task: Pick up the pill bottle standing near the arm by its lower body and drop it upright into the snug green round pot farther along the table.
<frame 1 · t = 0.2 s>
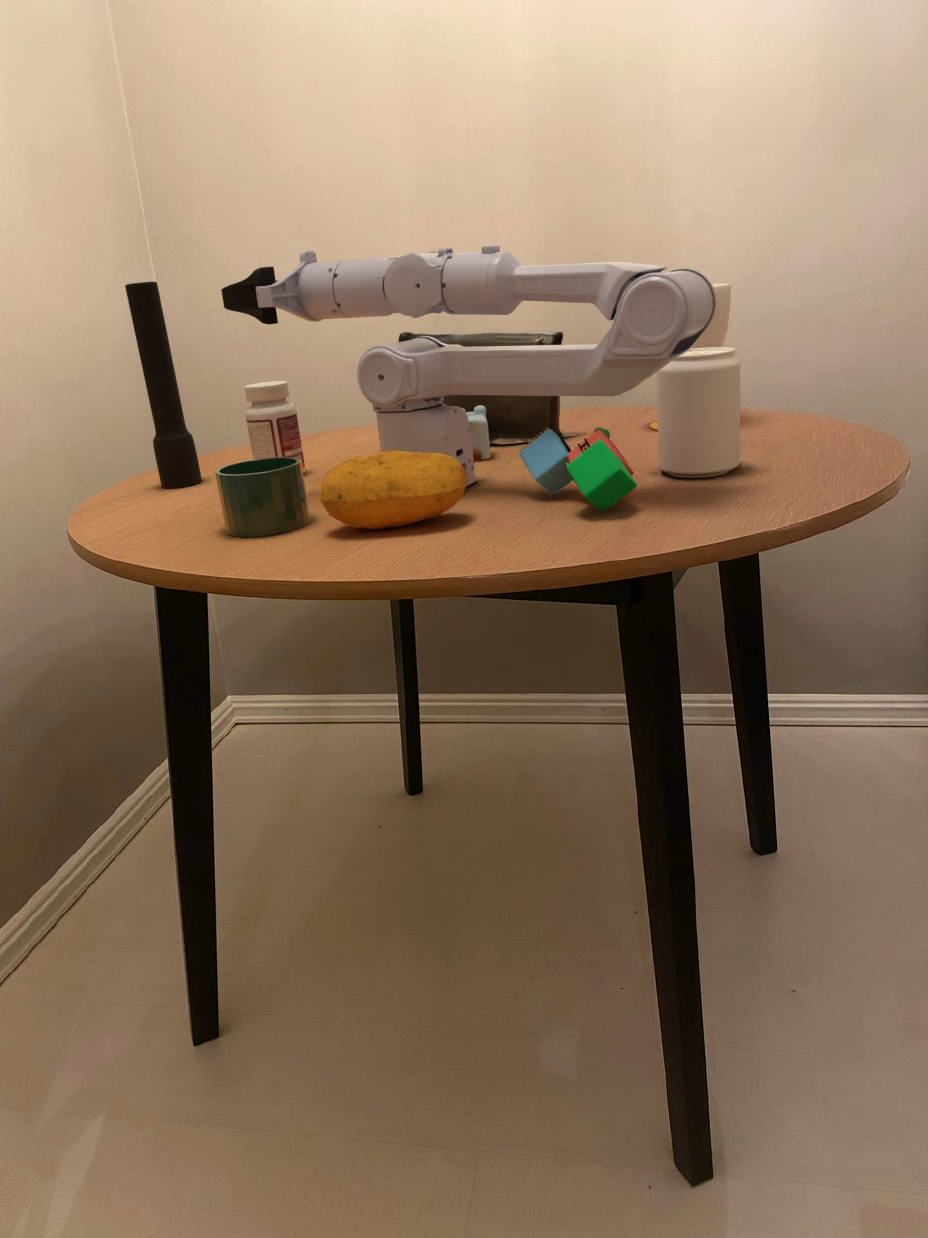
hand: (248, 295, 104), 21 cm above the table, tool horizontal, fingers open, 7 cm apart
figurine: (474, 457, 117), on the table
radio: (486, 441, 128), on the table
pill bottle: (281, 477, 117), on the table
cup: (684, 426, 124), on the table
beverage can: (698, 472, 97), on the table
flashlight: (182, 485, 119), on the table
green round pot: (268, 525, 93), on the table
potato: (398, 527, 88), on the table
building blocks: (577, 504, 90), on the table
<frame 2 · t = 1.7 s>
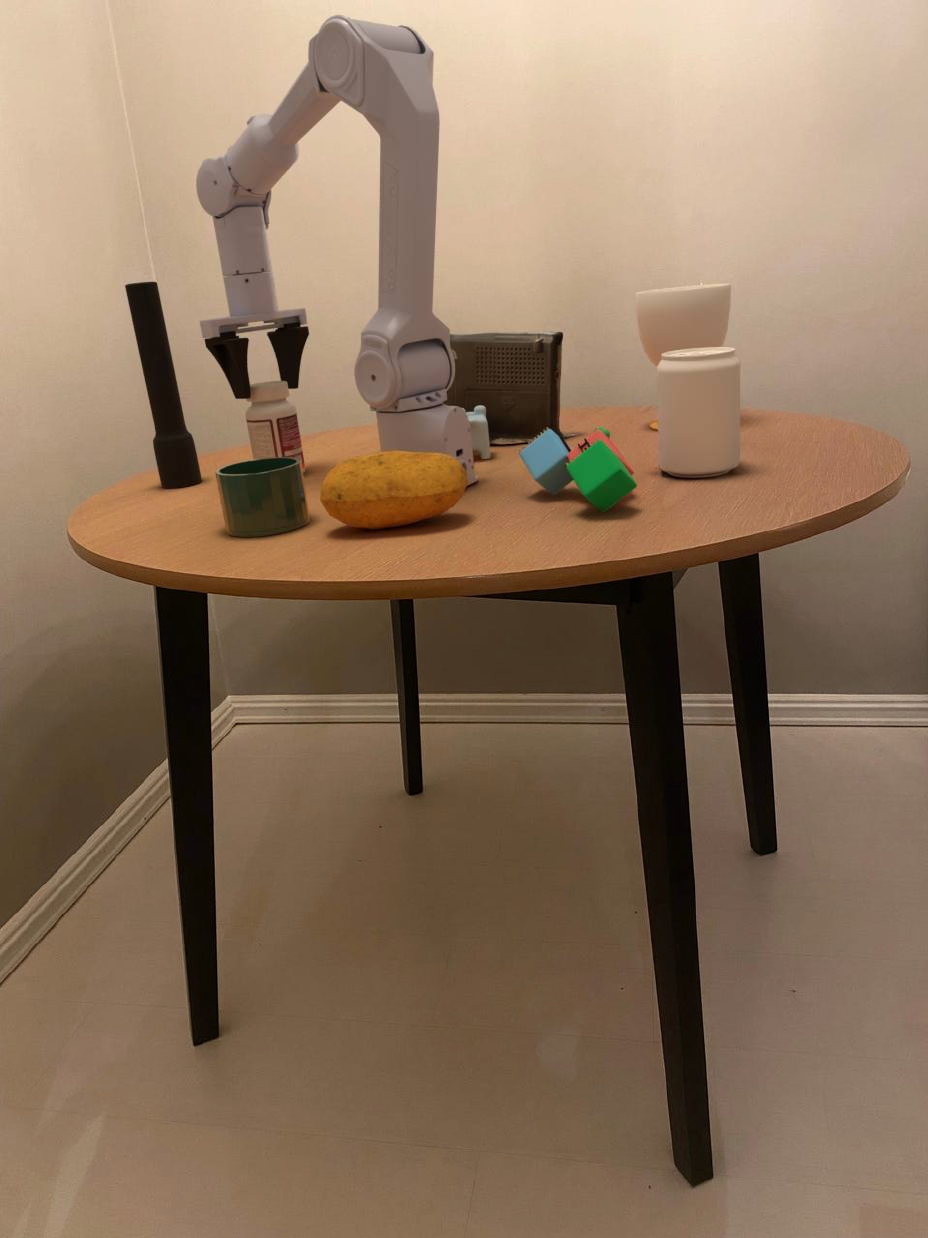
hand: (267, 393, 114), 10 cm above the table, tool pointing down, fingers open, 7 cm apart
nothing on the table moved.
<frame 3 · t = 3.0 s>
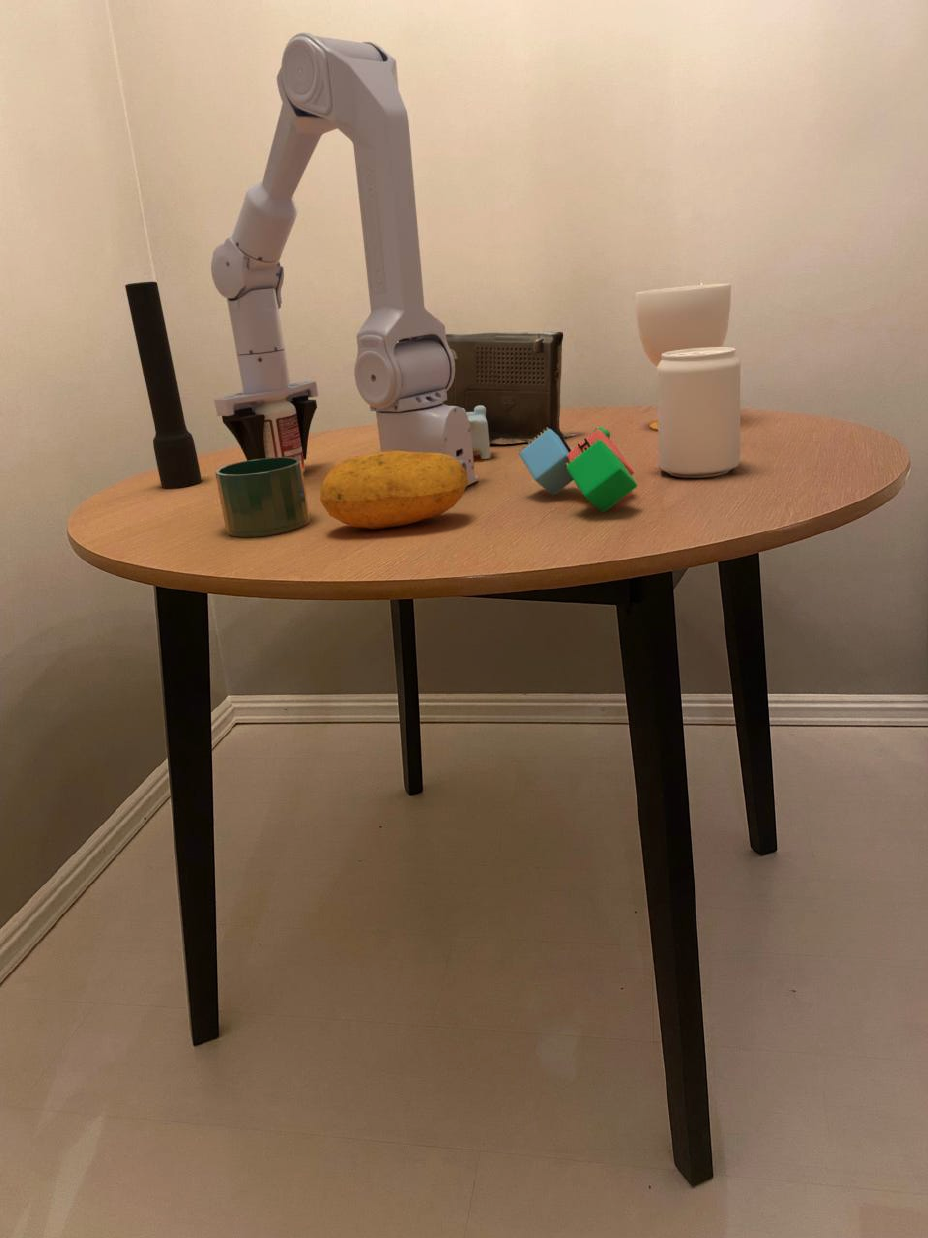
hand: (279, 464, 117), 1 cm above the table, tool pointing down, fingers closed on pill bottle, 6 cm apart
pill bottle: (281, 477, 117), on the table, touching gripper
everything else where it was.
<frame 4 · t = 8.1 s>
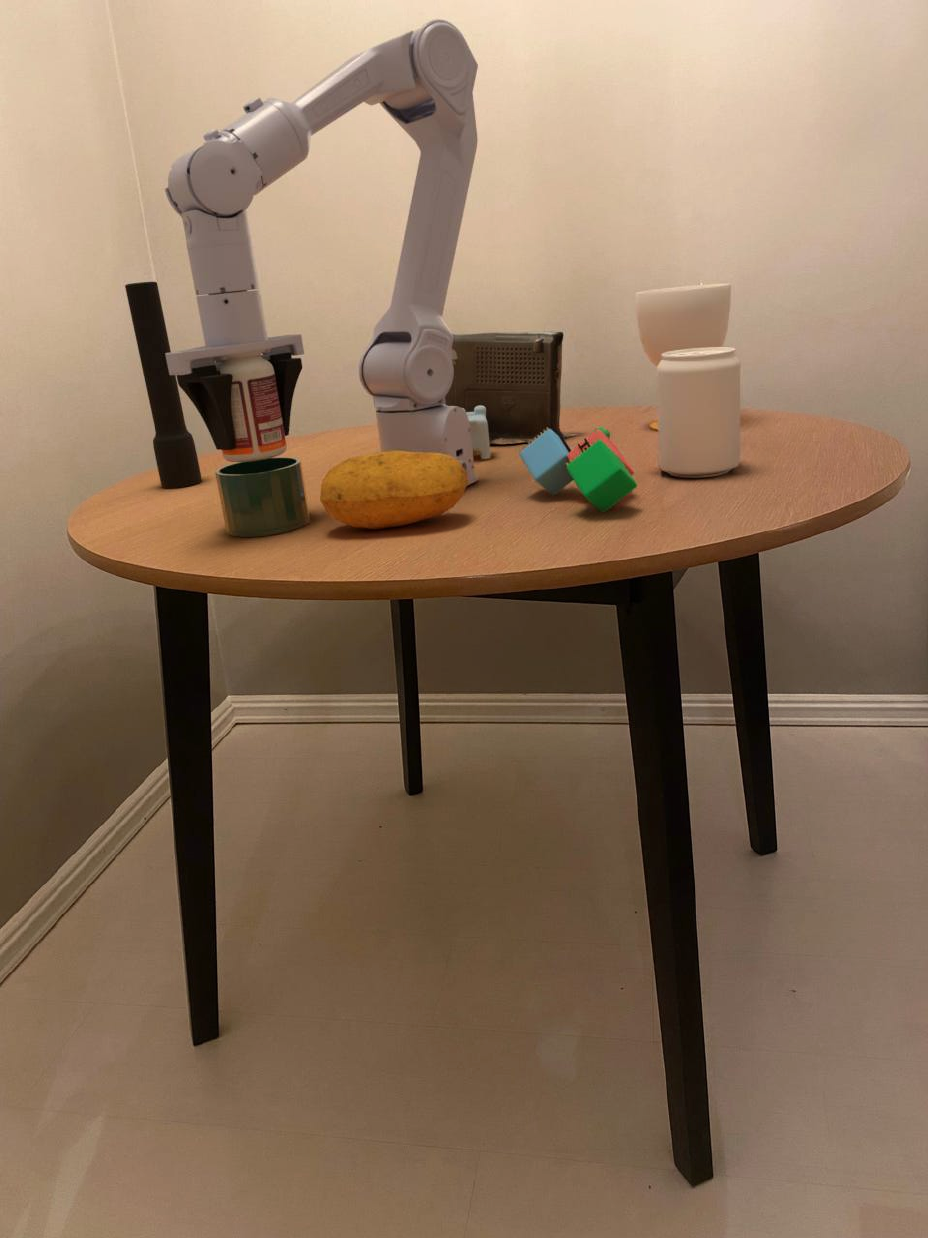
hand: (254, 442, 90), 8 cm above the table, tool pointing down, fingers closed on pill bottle, 6 cm apart
pill bottle: (255, 458, 91), point 7 cm above the table, touching gripper
everything else where it was.
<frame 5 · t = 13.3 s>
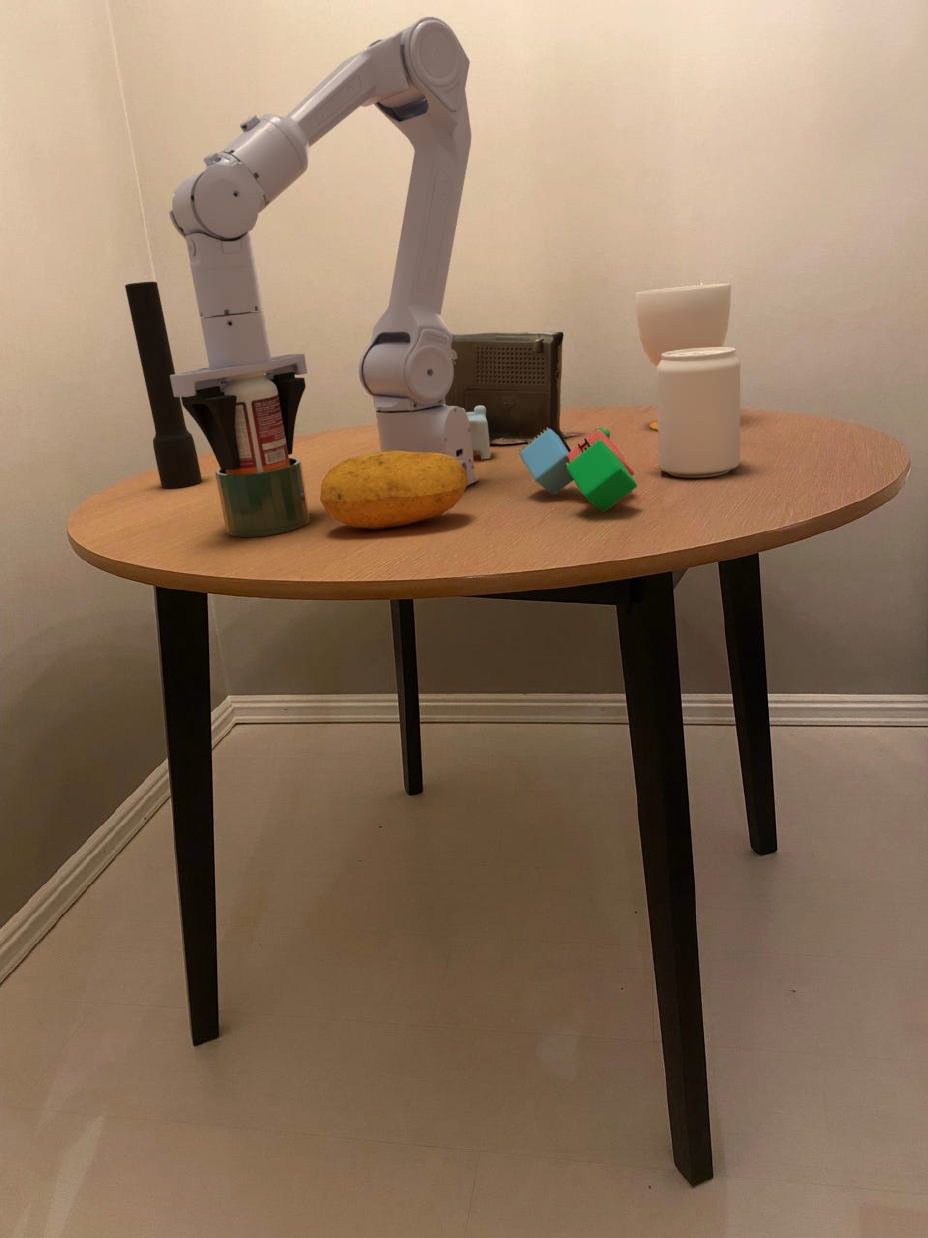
hand: (257, 461, 91), 6 cm above the table, tool pointing down, fingers closed on pill bottle, 6 cm apart
pill bottle: (259, 477, 91), point 5 cm above the table, touching gripper
everything else where it was.
when the fingers open (8 cm above the table, at t = 22.1 s): pill bottle drops 6 cm, resting on green round pot.
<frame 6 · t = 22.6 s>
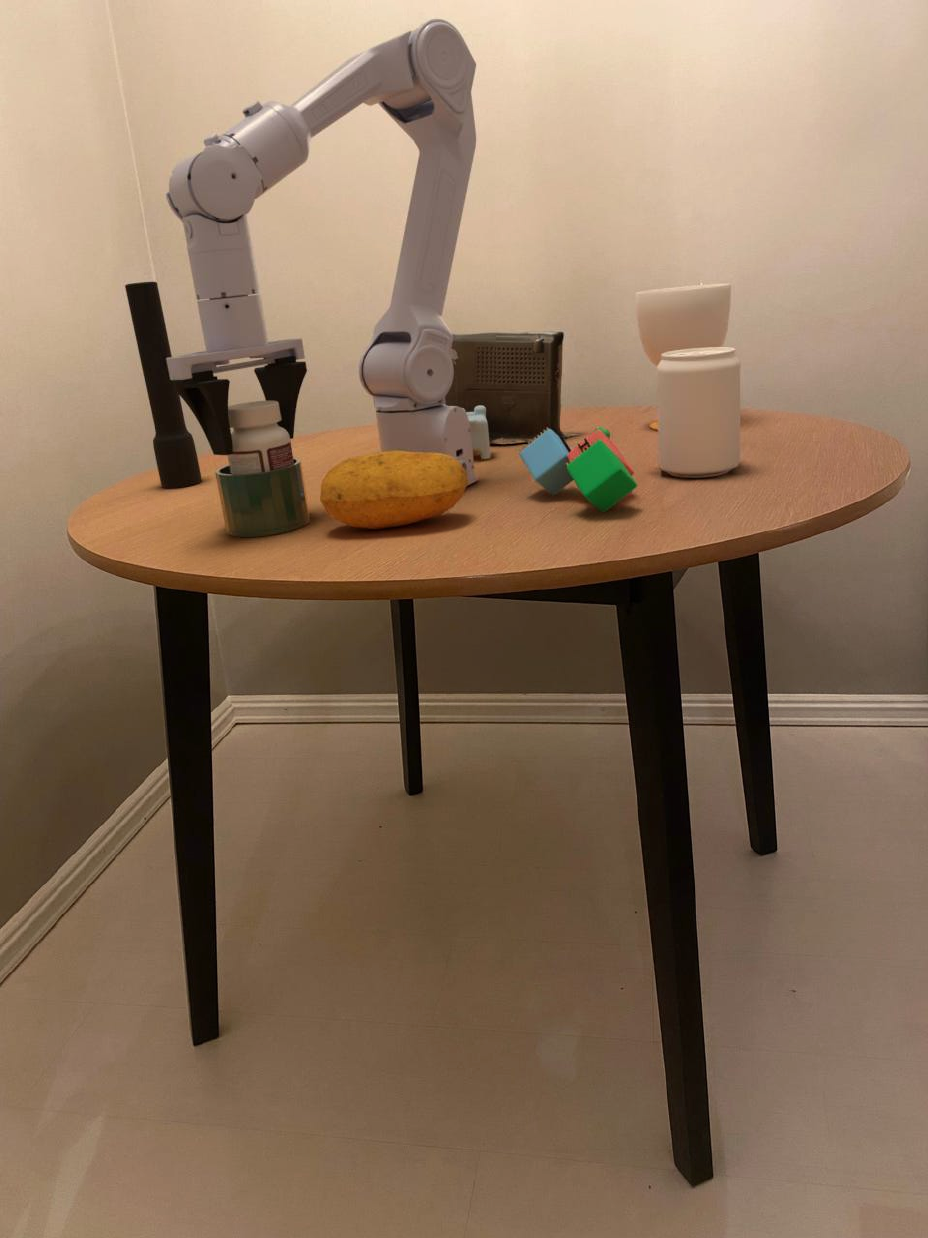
hand: (254, 446, 90), 8 cm above the table, tool pointing down, fingers open, 7 cm apart
pill bottle: (271, 521, 93), resting on green round pot
everything else where it was.
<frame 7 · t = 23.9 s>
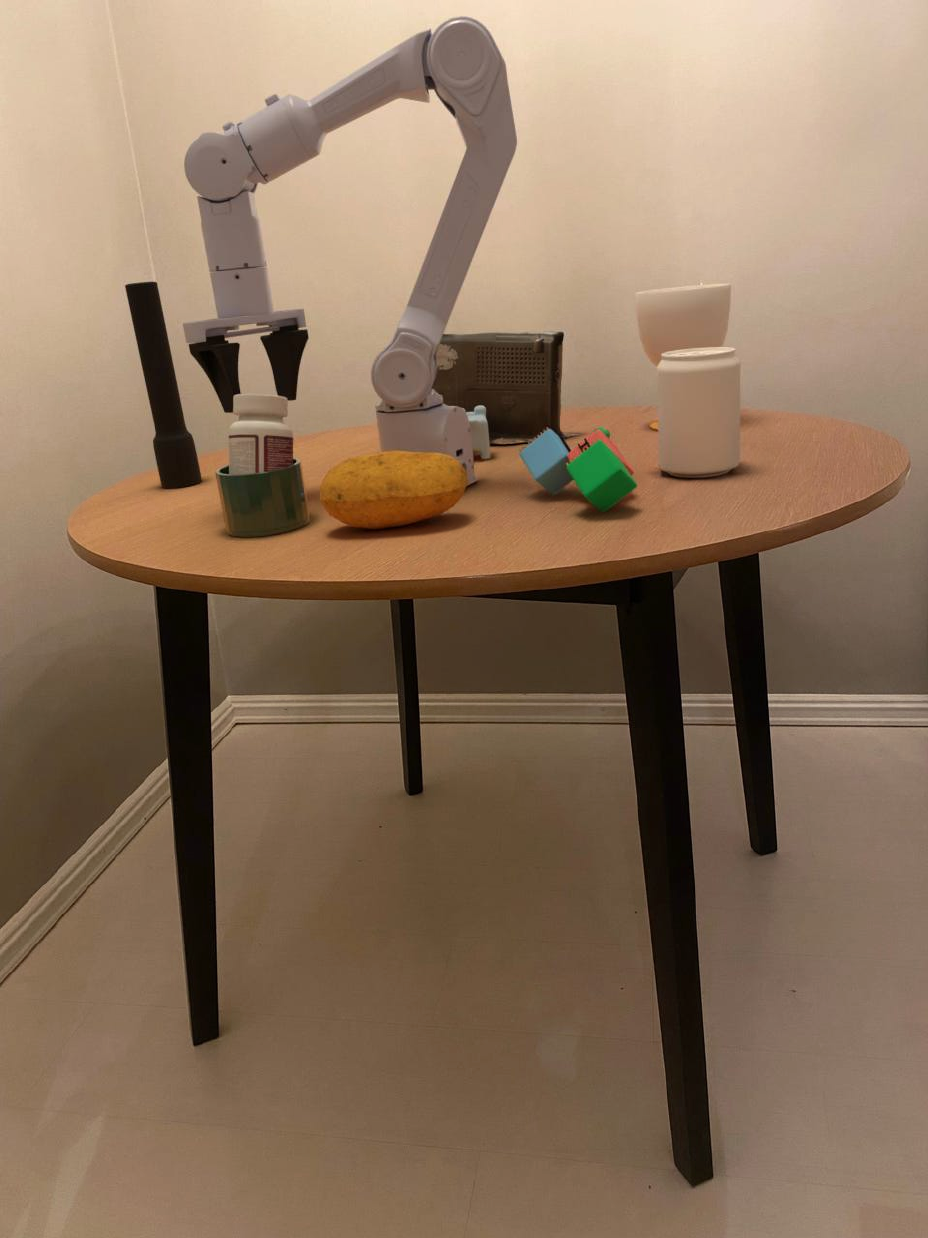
hand: (261, 406, 99), 10 cm above the table, tool pointing down, fingers open, 7 cm apart
pill bottle: (261, 516, 92), point 1 cm above the table, touching green round pot
everything else where it was.
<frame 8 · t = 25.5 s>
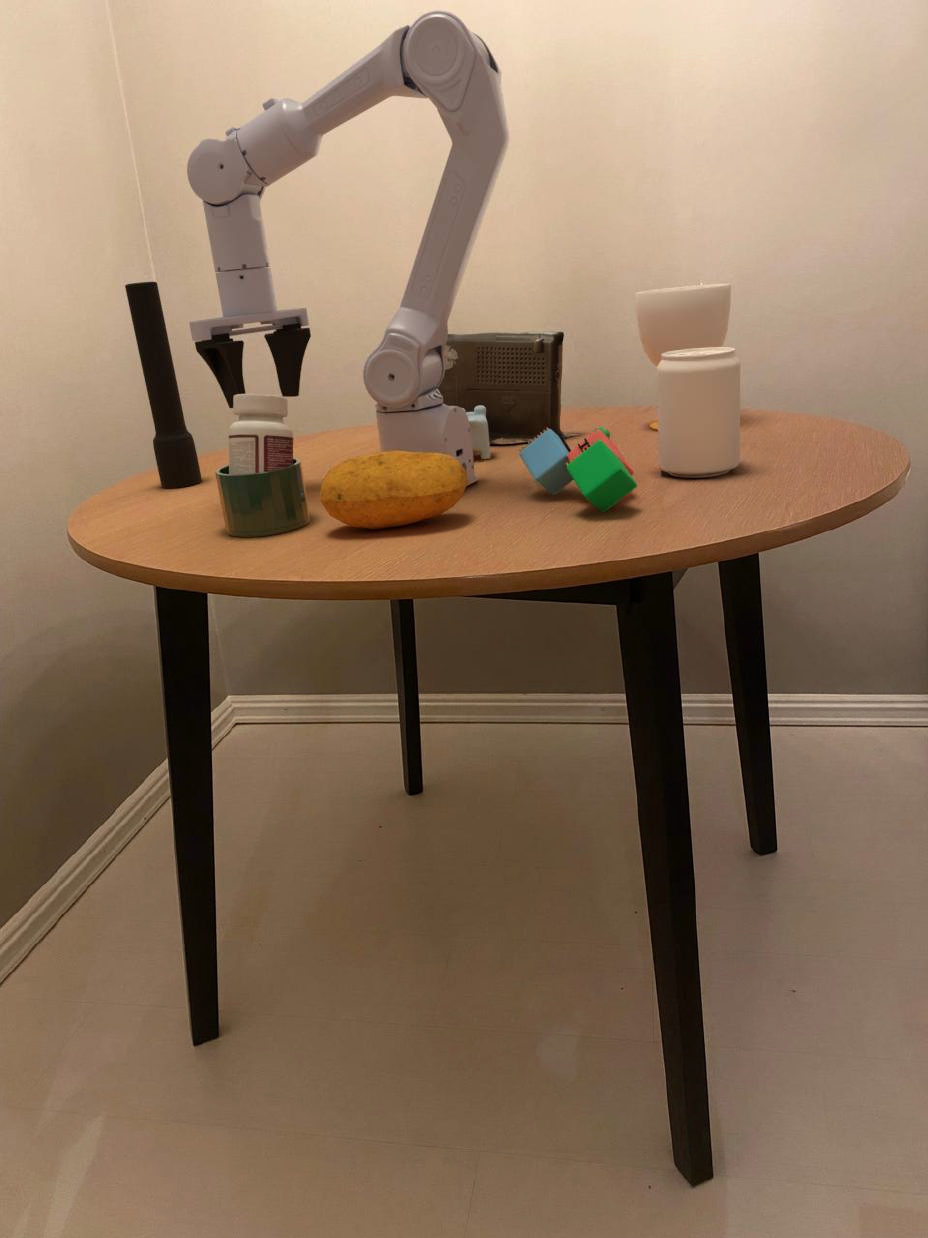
hand: (265, 401, 103), 10 cm above the table, tool pointing down, fingers open, 7 cm apart
nothing on the table moved.
at the end: pill bottle 0.8 cm off-centre in the green round pot, point 1.1 cm above the green round pot's base; pill bottle tilted 15°; the gripper is holding nothing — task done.
